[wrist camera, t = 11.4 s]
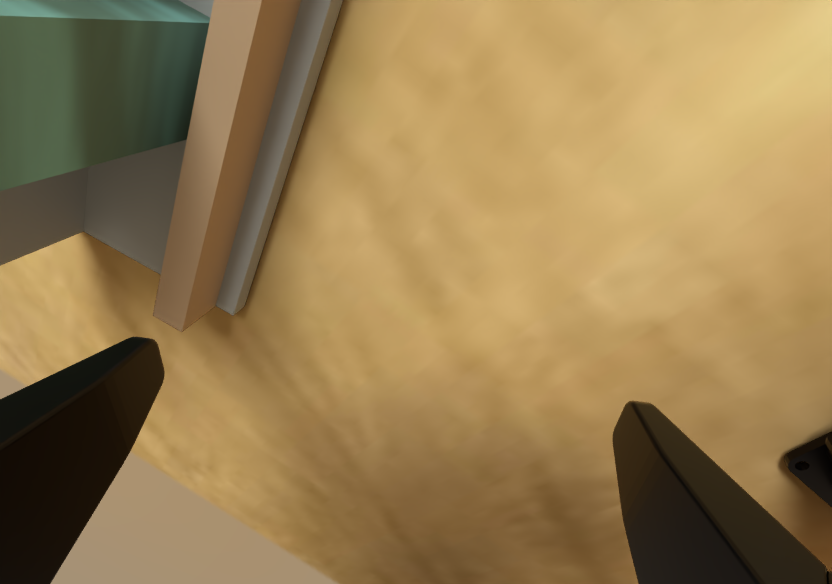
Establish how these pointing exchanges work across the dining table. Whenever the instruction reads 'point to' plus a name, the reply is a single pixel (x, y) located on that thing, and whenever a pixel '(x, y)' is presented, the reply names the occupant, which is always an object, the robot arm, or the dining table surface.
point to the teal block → (93, 81)
